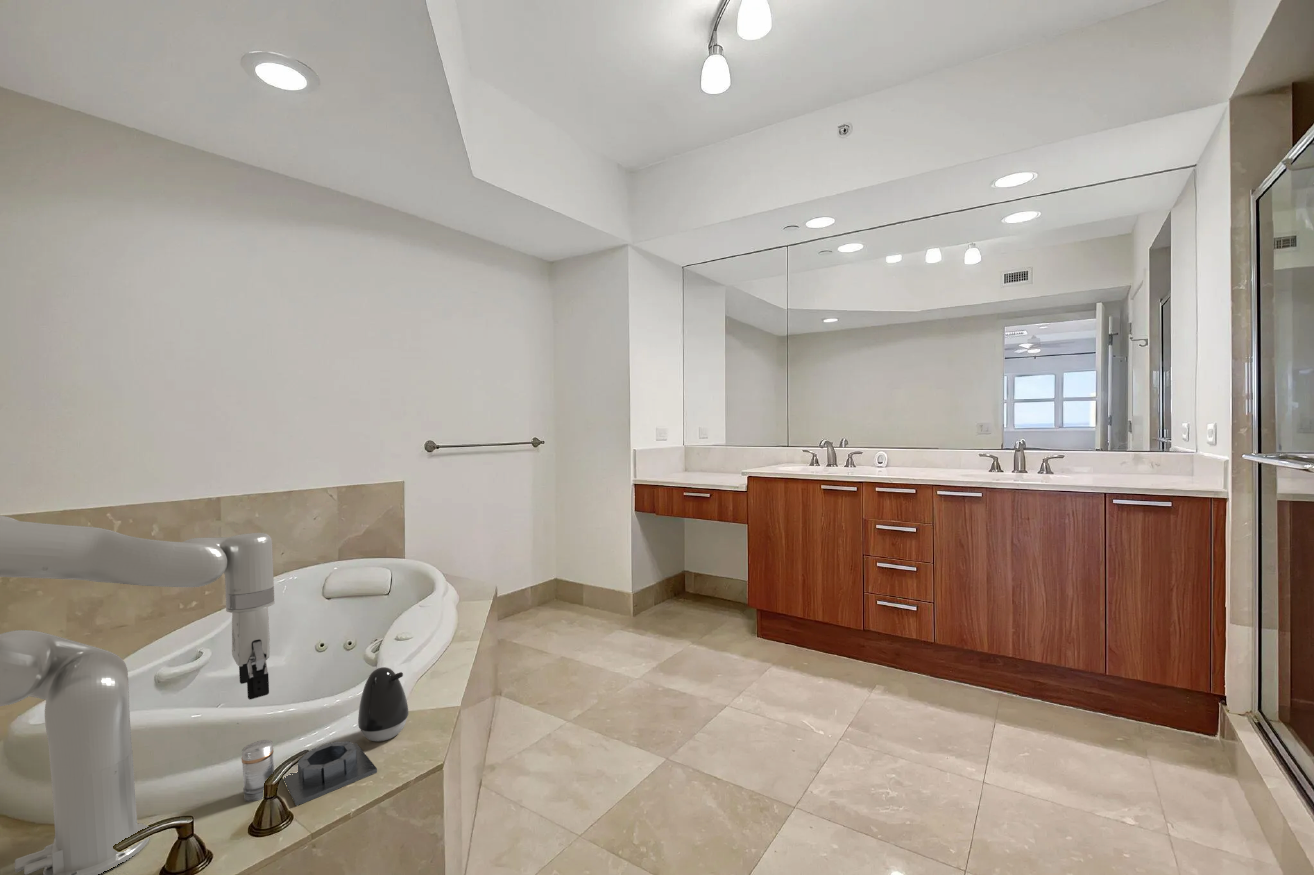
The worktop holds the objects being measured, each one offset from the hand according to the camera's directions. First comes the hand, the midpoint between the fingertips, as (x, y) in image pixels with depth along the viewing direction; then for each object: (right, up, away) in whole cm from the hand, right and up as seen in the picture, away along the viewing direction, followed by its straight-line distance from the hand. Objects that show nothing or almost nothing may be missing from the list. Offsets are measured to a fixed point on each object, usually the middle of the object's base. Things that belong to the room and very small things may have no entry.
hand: (254, 688), depth 109 cm
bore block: (+11, -20, +6) cm, 23 cm away
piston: (+1, -20, 0) cm, 20 cm away
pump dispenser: (+16, -19, +20) cm, 32 cm away
